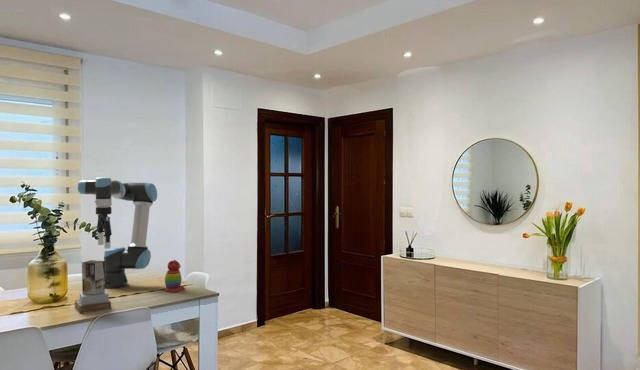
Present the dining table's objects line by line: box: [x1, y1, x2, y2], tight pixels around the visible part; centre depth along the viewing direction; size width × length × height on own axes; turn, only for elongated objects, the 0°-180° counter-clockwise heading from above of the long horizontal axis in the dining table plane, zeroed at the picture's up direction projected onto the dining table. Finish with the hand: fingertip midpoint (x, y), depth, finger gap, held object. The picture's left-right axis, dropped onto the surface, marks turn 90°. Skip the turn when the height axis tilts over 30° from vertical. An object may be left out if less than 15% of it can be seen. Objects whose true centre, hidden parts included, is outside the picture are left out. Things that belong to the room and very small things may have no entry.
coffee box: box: [81, 259, 106, 295], centre depth 227 cm, size 9×6×16 cm
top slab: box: [79, 288, 110, 305], centre depth 228 cm, size 12×12×4 cm
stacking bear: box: [164, 259, 186, 294], centre depth 264 cm, size 11×10×18 cm
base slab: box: [74, 299, 112, 314], centre depth 227 cm, size 14×14×4 cm
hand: (104, 246), depth 237 cm, fingers open, 13 cm apart
